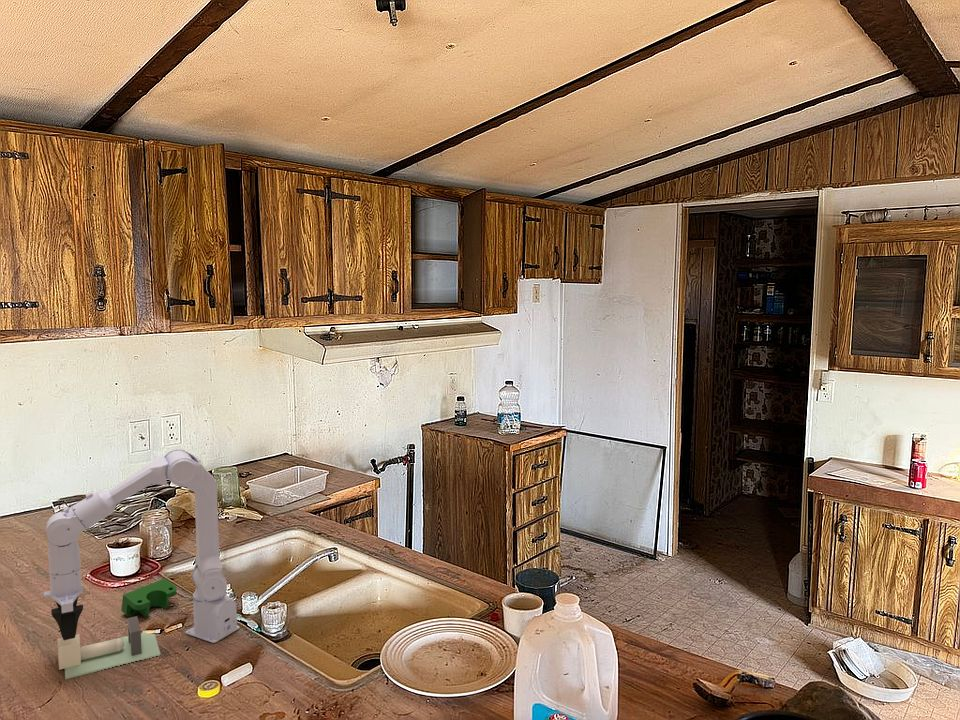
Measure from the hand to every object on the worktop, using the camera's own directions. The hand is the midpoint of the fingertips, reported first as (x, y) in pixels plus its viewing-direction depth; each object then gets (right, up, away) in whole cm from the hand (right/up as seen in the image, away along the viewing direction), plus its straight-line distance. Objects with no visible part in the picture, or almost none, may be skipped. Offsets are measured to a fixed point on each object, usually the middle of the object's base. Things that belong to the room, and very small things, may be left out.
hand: (68, 630), depth 146 cm
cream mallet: (+3, -7, +3) cm, 8 cm away
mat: (+7, -7, +5) cm, 11 cm away
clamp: (+5, -5, +25) cm, 26 cm away
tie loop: (+10, -7, +7) cm, 14 cm away
